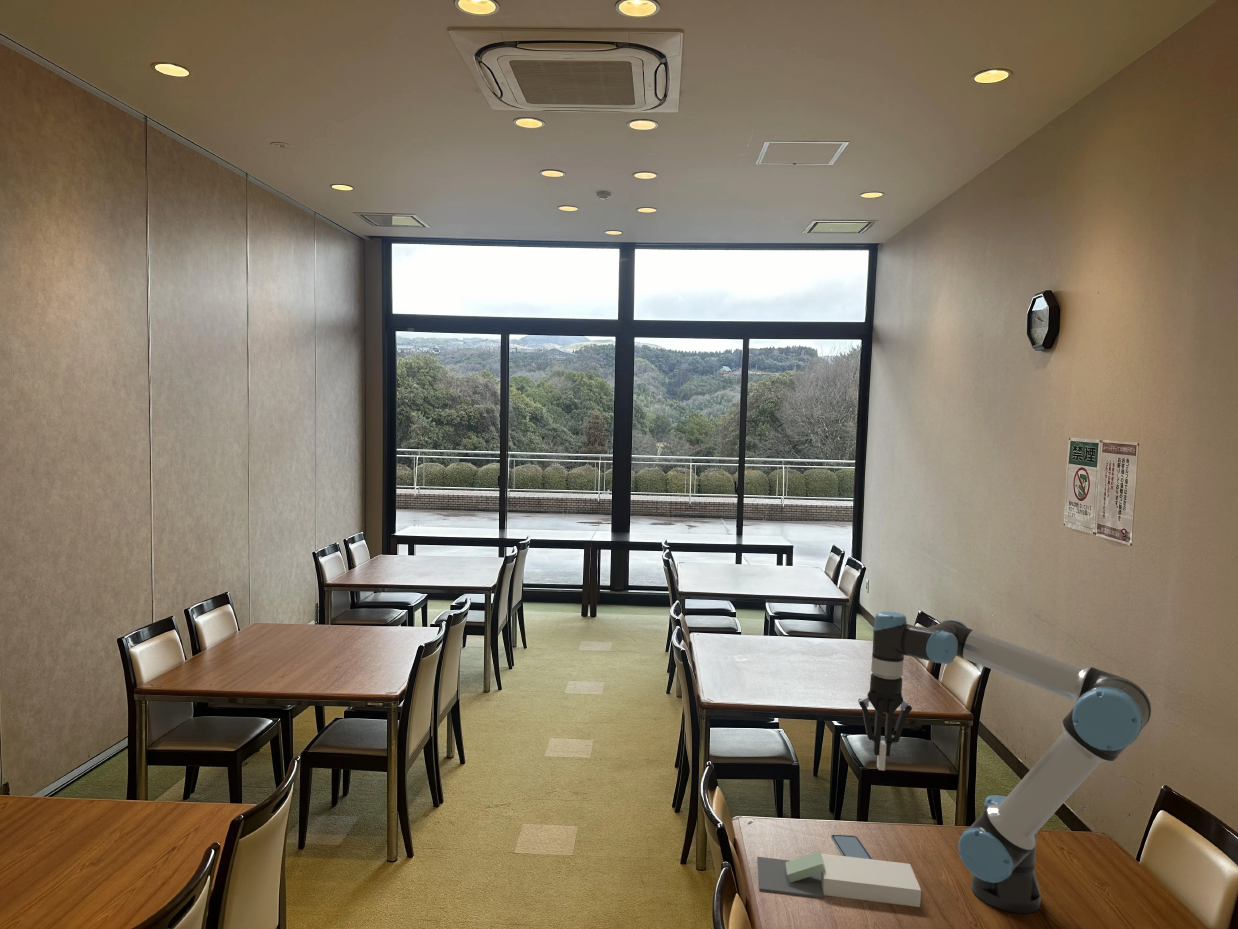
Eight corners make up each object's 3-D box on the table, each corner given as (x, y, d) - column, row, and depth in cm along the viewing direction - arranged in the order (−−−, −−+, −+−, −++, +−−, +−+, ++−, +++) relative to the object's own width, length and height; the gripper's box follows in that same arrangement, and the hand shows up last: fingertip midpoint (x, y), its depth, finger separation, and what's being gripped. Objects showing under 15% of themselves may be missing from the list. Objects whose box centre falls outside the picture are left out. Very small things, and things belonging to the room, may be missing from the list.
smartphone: (856, 835, 223) (875, 863, 208) (856, 839, 223) (875, 866, 208) (830, 834, 223) (847, 862, 208) (829, 838, 223) (846, 865, 208)
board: (908, 879, 202) (909, 864, 202) (919, 907, 190) (921, 890, 190) (818, 868, 205) (818, 853, 205) (823, 895, 193) (824, 878, 193)
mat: (817, 865, 206) (817, 863, 206) (824, 898, 191) (824, 896, 191) (757, 858, 208) (757, 856, 208) (759, 890, 193) (759, 888, 193)
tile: (823, 858, 201) (819, 851, 201) (825, 871, 195) (822, 863, 195) (788, 869, 203) (785, 862, 203) (790, 882, 197) (787, 875, 197)
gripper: (910, 673, 206) (904, 765, 207) (857, 668, 208) (851, 759, 209) (917, 681, 199) (911, 777, 199) (862, 676, 200) (856, 771, 201)
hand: (880, 768), depth 204 cm, fingers closed
